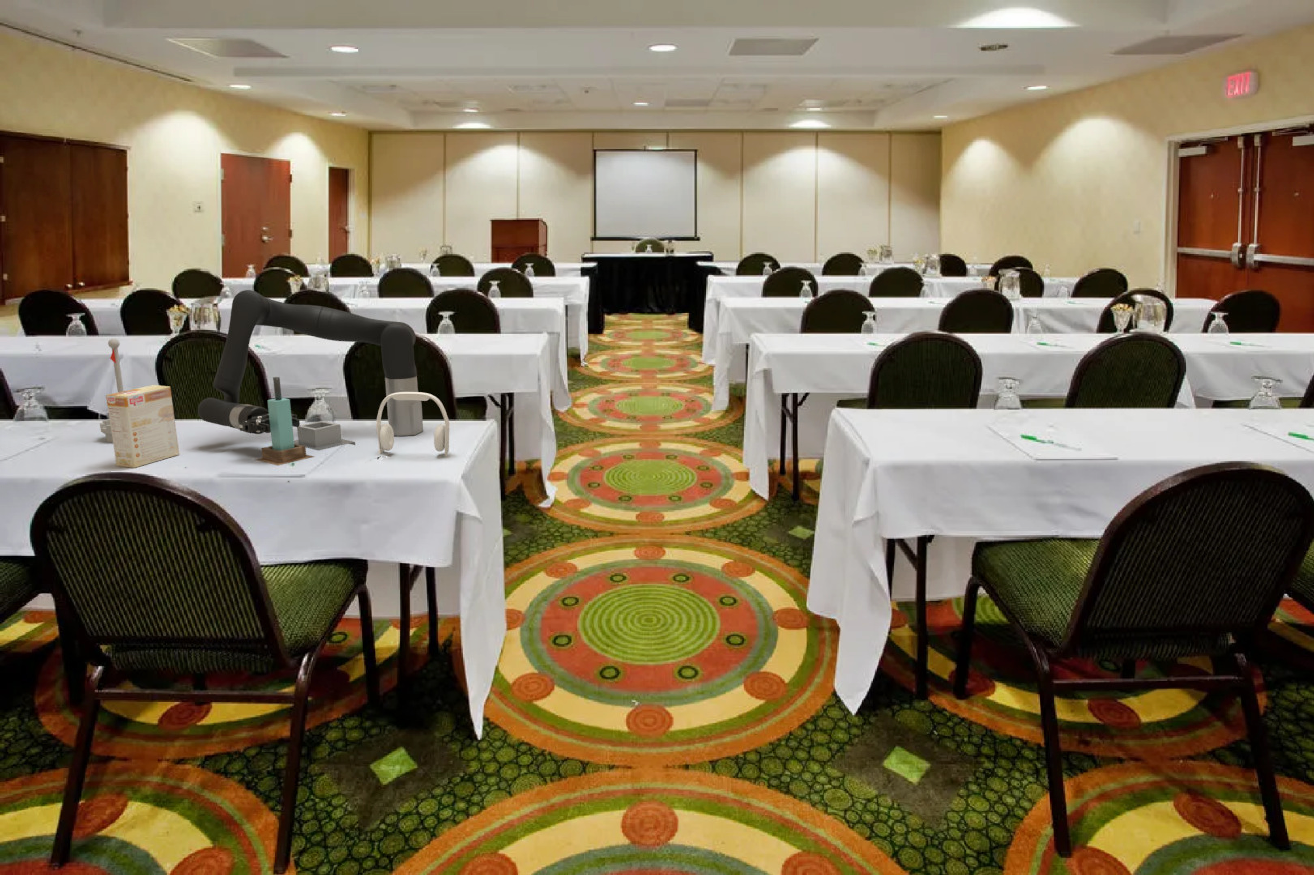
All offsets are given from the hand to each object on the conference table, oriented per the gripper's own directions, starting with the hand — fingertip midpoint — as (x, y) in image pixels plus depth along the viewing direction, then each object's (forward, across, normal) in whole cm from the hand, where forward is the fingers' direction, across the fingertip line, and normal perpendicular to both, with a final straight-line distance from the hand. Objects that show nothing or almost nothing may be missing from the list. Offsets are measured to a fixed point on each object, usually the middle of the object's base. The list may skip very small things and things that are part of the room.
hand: (283, 426), depth 255 cm
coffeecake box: (-34, -21, +10) cm, 41 cm away
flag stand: (-66, -11, +10) cm, 67 cm away
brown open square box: (-1, 0, +10) cm, 10 cm away
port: (-9, +16, +10) cm, 21 cm away
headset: (+23, +24, +10) cm, 35 cm away
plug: (-1, 0, +9) cm, 9 cm away
